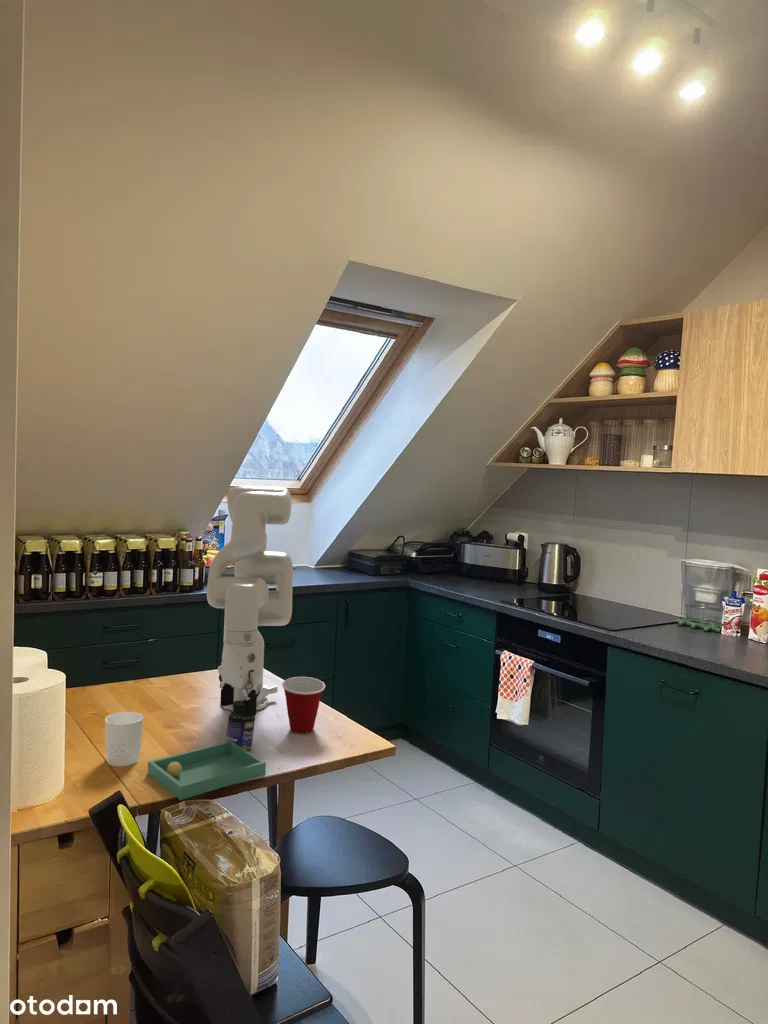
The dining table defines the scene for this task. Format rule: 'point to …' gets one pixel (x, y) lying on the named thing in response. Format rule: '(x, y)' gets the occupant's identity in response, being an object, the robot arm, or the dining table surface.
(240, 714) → the pill bottle
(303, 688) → the plastic cup
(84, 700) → the dining table surface
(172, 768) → the ball
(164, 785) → the tray
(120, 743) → the white cup
